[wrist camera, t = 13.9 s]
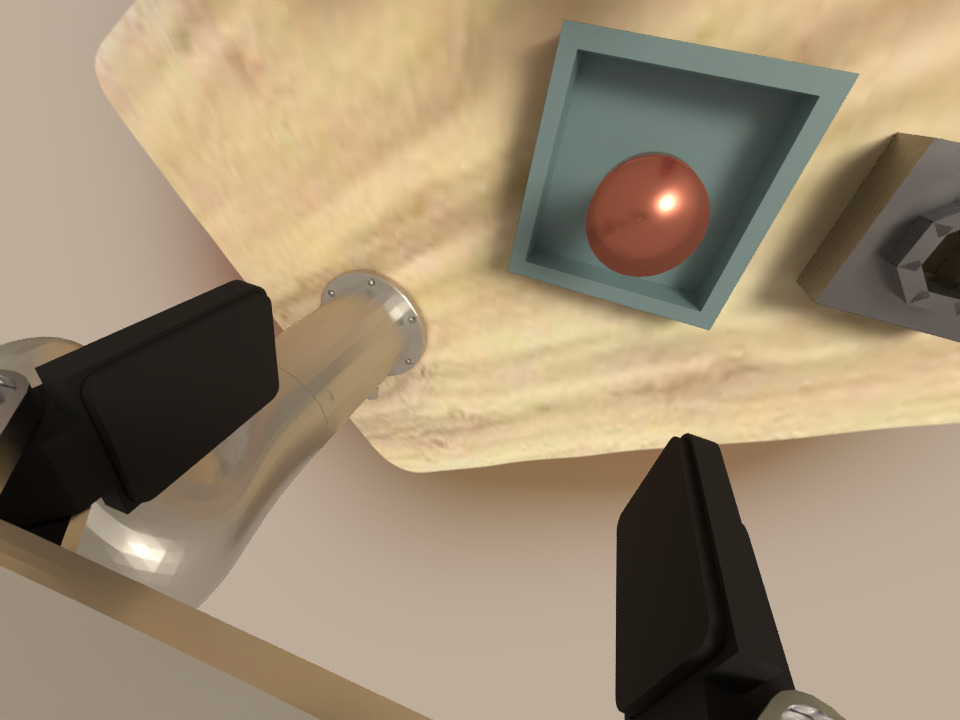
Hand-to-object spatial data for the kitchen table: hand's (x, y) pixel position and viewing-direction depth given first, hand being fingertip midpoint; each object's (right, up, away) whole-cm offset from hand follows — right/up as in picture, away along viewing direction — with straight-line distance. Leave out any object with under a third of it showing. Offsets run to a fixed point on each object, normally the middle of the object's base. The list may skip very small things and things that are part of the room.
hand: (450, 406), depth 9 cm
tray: (+13, +14, +21) cm, 29 cm away
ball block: (+30, +9, +18) cm, 36 cm away
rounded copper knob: (+13, +14, +21) cm, 28 cm away
